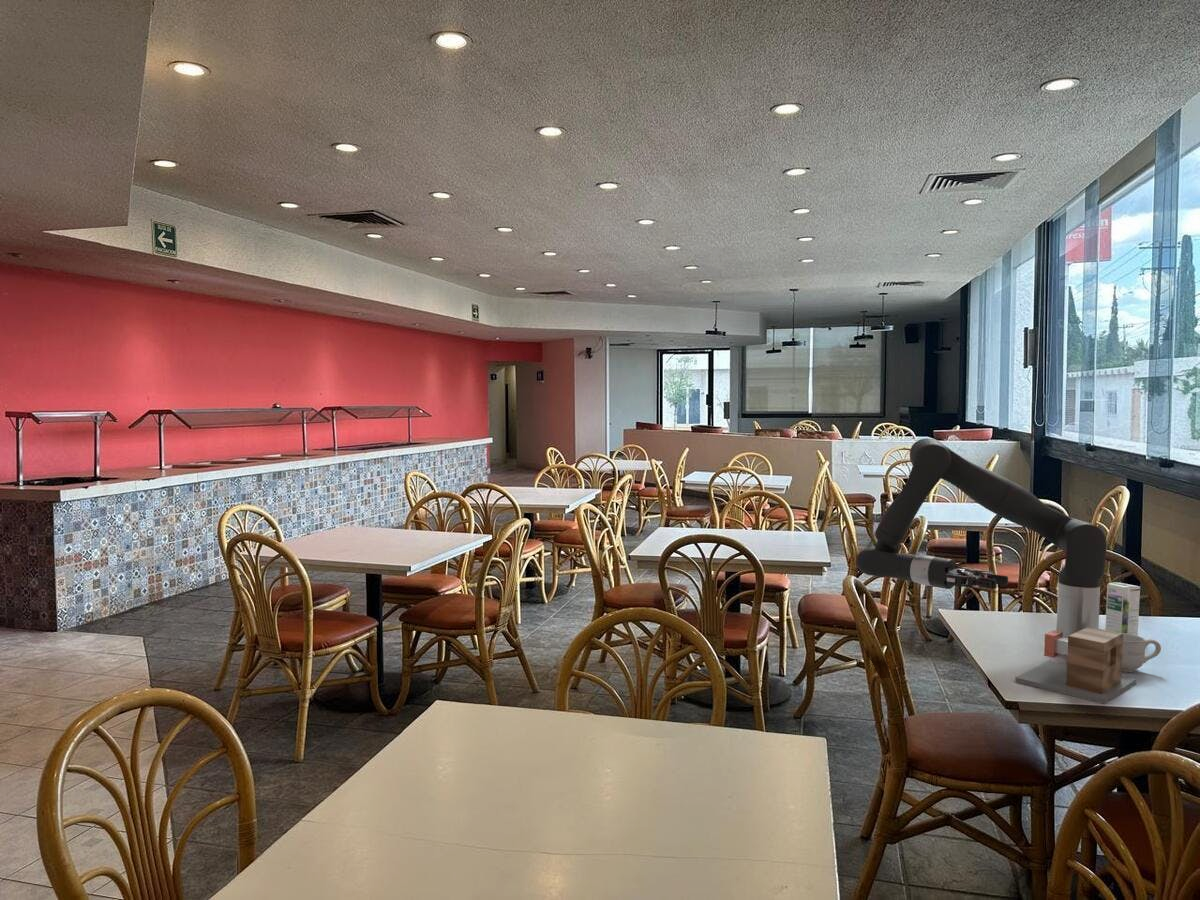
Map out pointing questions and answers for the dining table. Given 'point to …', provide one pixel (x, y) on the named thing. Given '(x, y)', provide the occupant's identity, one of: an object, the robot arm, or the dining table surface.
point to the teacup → (1136, 652)
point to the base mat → (1055, 677)
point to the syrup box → (1122, 608)
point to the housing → (1094, 659)
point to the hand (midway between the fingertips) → (1001, 582)
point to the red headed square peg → (1055, 644)
